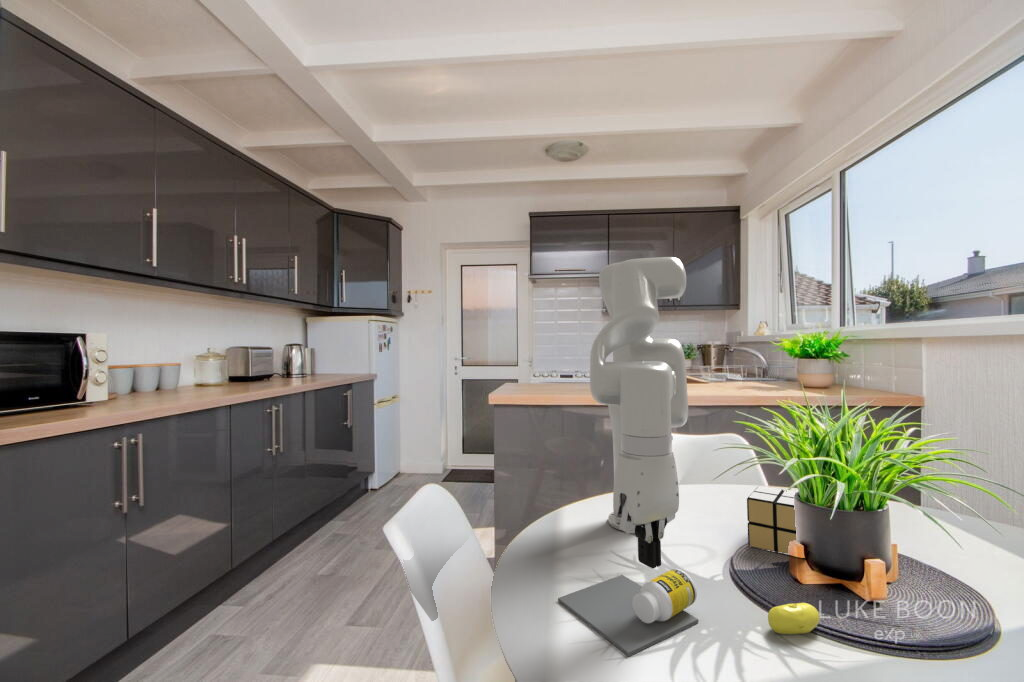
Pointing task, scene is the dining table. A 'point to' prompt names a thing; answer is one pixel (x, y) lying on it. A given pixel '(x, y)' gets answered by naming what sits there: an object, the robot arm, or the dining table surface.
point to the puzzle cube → (771, 519)
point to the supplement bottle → (664, 596)
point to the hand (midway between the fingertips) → (649, 563)
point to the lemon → (793, 618)
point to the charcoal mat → (622, 615)
